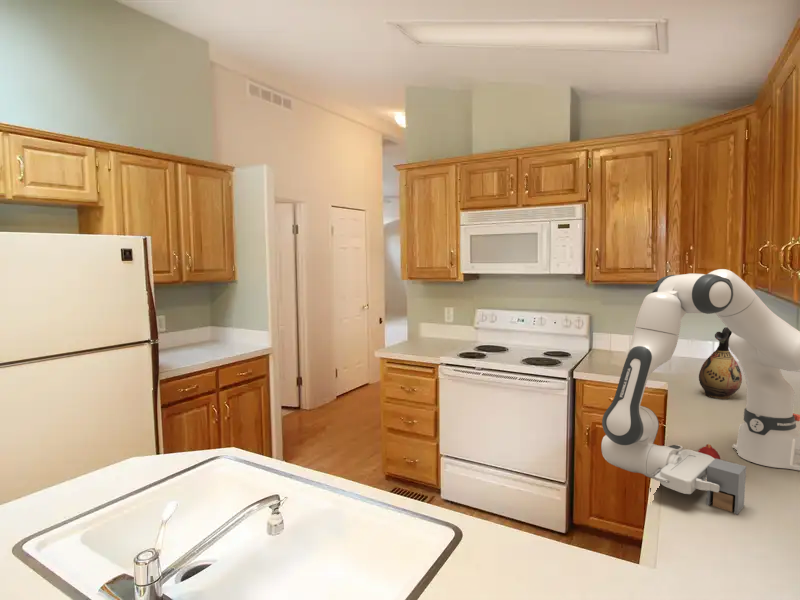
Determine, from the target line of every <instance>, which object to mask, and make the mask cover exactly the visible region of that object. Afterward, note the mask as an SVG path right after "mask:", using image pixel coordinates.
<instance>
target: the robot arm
mask: <svg viewBox="0 0 800 600" xmlns="http://www.w3.org/2000/svg"><path fill="white" fill-rule="evenodd" d="M686 314H707V315H708V314H715V315H716V316H717V317H718V318H719V320H721V322H722V323H723V324H724V325H725V326H726V327H728V329H729V330H730V331H731V332H732V334H731V335H730V338H729V348H728V349H729V351H731V352H730V353H731V354H733V355H734V357H736V359H737V360H738V362H739V364H740V366H741V369H742V372H743V374H744V378H745V382H746V405H745V406H746V407H745V408H744V411H743V422H741V423H740V424H739V428H738V433H737V434H738V435H737V441H736V443H733V444H732V448H733V447H734V448H735V449H736V450H737V451H736V450H735V449H734V450H735V451H736V454H737V453H738V454H737V456H739V457H740V458H742V459H743V460H746V461H747V462H752V463H754V464H757V465H761V466H766V467H770V468H776V469H777V468H778V469H790V470H794V471H800V430H799V429H798V428H797V422H800V413H799V414H797V413H794V402H795V390H794V387H793V385H791V384H790V383H789V382H788V381H787V380H786V378H785V377H784V376H783V374H782V370H784V371H787V372H795V373H796V372H799V373H800V330H798V329H797V328H796V327H794V326H792V325H791V324H789V323H788V322H787V321H785V320H784V319H783V318H781V317H780V316H778V315H777V314H776V313H775V312H773V311H772V310H771V309H770V308H768V306H767V305H766V304H765V303H764V302H763V300H762V299H761V298H760V296H758V295H757V294H756V293H755V291H754V289H752V287H751V286H749V284H748V283H747V282H746V281H744V279H742V278H741V277H740V276H739V275H738V274H736V273H735V272H734V271H731V270H729V269H725V268H718V269H714V270H712V271H710V272H708V273H707V274H704V273H686V274H685V273H684V274H670V275H666V276H663V277H661V278H660V279H658V280H657V281H656V283H655V284H654V285H653V288H652V291H651V293H649V294H647V295H645V297H644V298H643V301H642V303H641V305H640V307H639V310H638V314H637V316H636V320H635V325H634V328H633V333H632V338H631V342H630V346H629V349H628V353H627V356H626V359H625V362H624V364H623V368H622V371H621V374H620V377H619V381H618V383H617V384H618V385H617V387H616V390H615V394H614V398H613V399H612V401H611V403H610V405H609V406H608V408H607V409H606V410H605V411H604V413H603V415H602V419H601V425H602V429H603V432H604V433H605V435H604V436H603V437H602V439H601V443H600V444H601V445H600V447H601V451H600V452H601V454H602V457H603V458H604V460H605V461H606V462H607V463H609V464H610V465H612V466H615V467H616V468H620V469H622V470H625V471H628V472H631V473H636V474H642V475H644V476H645V477H647V478H650V479H653V480H655V481H658V482H659V483H660V484H661V485H662V486H664V487H666V488H667V489H671V490H673V491H676V492H678V493H681V494H684V495H691V494H693V492H695V491H696V490H700V491H707V490H709V491H714V492H719V491H720V489H721V488H720V487H721V485H720V484H719V483H716V482H713V481H712V482H707V467H708V465H709V464H710V463H711V462H712V461H713V460H715V458H713V457H711V456H709V455H706V454H703V453H700V452H698V451H697V450H693V449H687V448H684V447H683V446H682V445H680V444H672V445H659V444H658V445H657V444H655V440H656V438H657V435H658V431H659V428H660V427H659V425H660V424H659V423H660V421H659V419H658V417H657V415H656V413H655V412H654V411H653V410H652V409H650V408H649V407H647V406H644V405H641V404H642V400H643V396H644V393H645V389H646V385H647V383H648V380H649V378H650V376H651V374H652V373H653V372H654V371H655V370H656V369H658V368H659V367H660V366H662V365H664V364H666V363H667V362H669V361H670V360H671V359H672V357H673V355H674V352H675V350H676V349H677V344H678V341H679V337H680V331H681V323H682V319H683V317H684V316H685V315H686Z"/></svg>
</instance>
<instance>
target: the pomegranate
mask: <svg viewBox="0 0 800 600" xmlns="http://www.w3.org/2000/svg"><path fill="white" fill-rule="evenodd" d="M697 452H700V453H703V454H706V455H709V456H711V457H713V458H715V459H720V460H721V456H720V454H719V452H718V451H717V450H716V449H715V448H714V447H712V445H711V444H709V443H708V444H706V445H705V446H703V447H700V448H699V449H698V451H697Z"/></svg>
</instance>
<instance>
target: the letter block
mask: <svg viewBox="0 0 800 600" xmlns="http://www.w3.org/2000/svg"><path fill="white" fill-rule="evenodd" d="M712 507H715V508H719V509H721V510H725V511H726V512H727V511H728V512H731V513H733V511H735V495H733V494H729V493H726V492H723V491H719V492H714V491H713V502H712Z"/></svg>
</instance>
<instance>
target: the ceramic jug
mask: <svg viewBox="0 0 800 600" xmlns="http://www.w3.org/2000/svg"><path fill="white" fill-rule="evenodd" d="M731 334H732V332H731V331H730V330H729V329H728V327H727V326H726V327H723V328H722V330H721V331H716V332H715V334H714V338H715V339H716V340H717V341H719V342H718V346H717V348H716V350H714V351H713V352H712V353H711V354H710V355H709V356H708V357H707V358H706V360H705V361H704V362H703V363H702V365H701V367H700V369H699V374H698V381H699V384H700V386H701V387H702V389H703V391H704V396H706V397H709V398H711V399H712V398H713V399H719V400H729V399H731V397H732V396H733V395H734V394H735V393H736V392H737V391H739V390H740V387H741V386H742V382H743V377H742V370H741V368H740V366H739V364H738V362H737V360H736V359H735V358H734V357H735V356H733V355H732V352H730V348H729V338H730V335H731Z"/></svg>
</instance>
